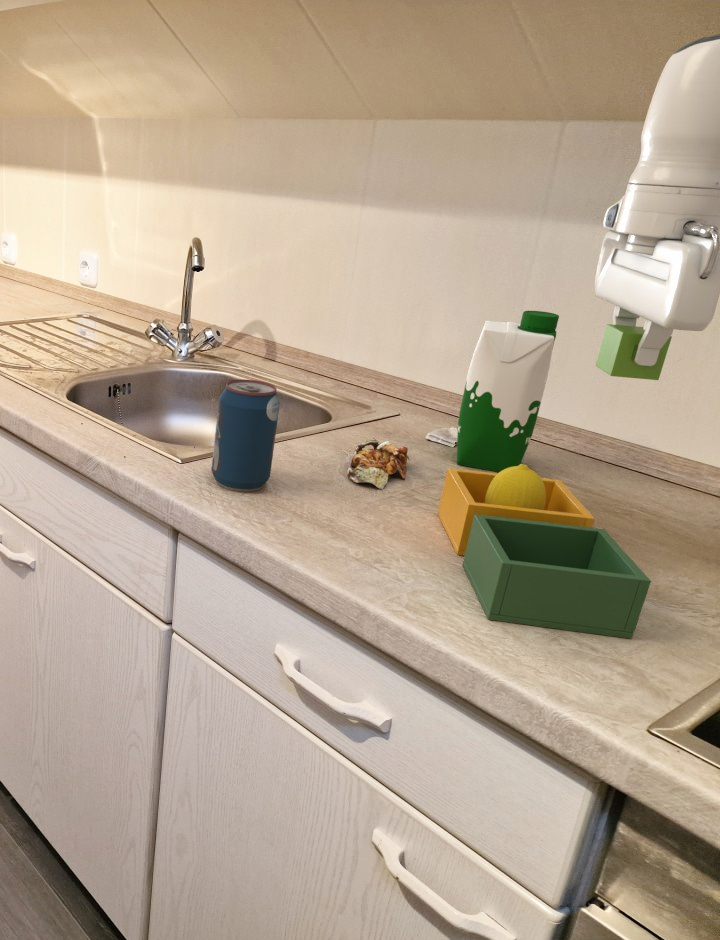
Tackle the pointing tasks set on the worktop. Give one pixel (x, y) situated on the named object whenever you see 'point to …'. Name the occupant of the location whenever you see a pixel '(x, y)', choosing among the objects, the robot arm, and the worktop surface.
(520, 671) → the worktop surface
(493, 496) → the lemon
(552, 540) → the green bin
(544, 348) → the milk carton
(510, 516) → the ochre bin
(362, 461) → the pastry
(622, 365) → the green block
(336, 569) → the worktop surface
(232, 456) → the soda can
